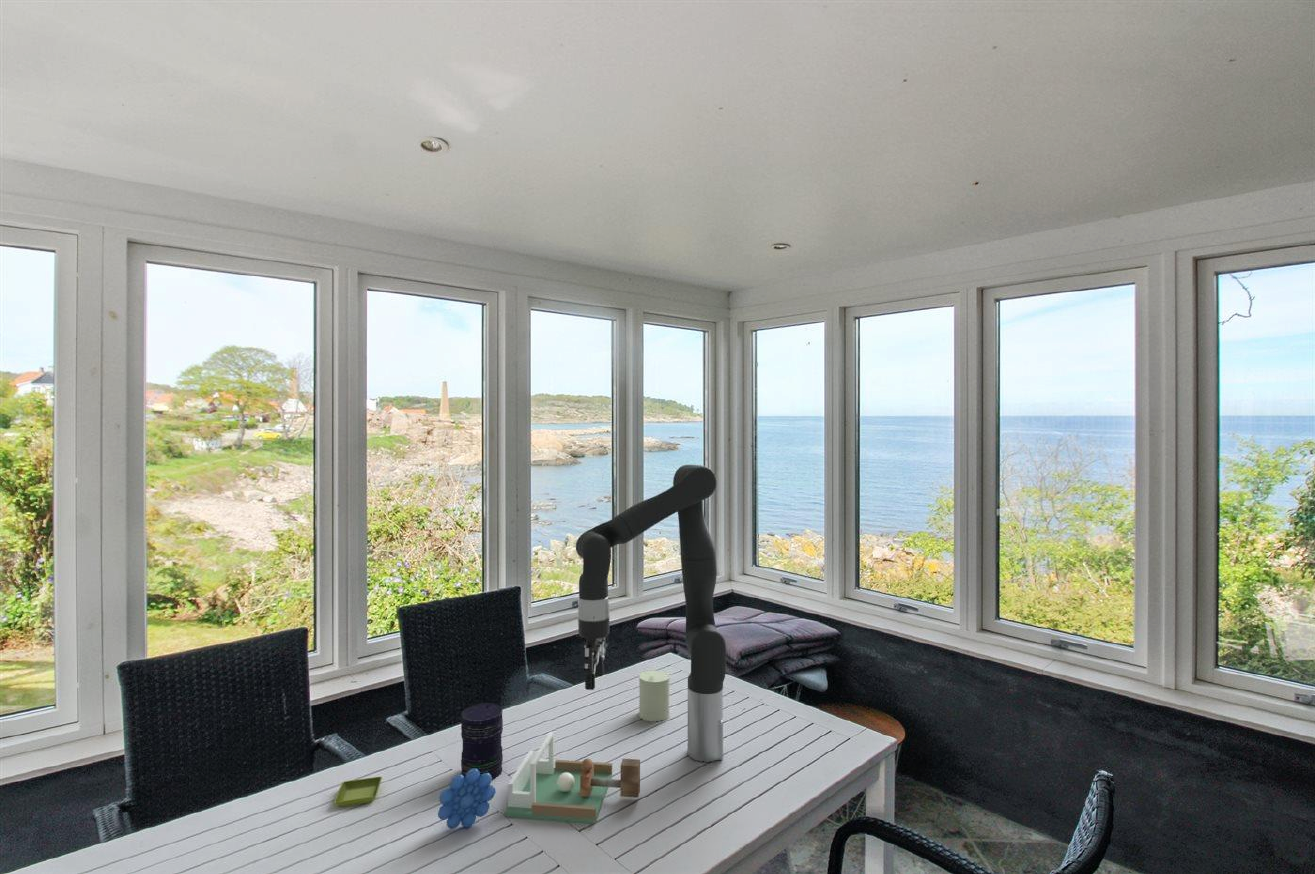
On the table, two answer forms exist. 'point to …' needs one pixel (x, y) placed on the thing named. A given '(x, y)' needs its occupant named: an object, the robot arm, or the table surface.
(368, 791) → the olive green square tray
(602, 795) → the pitch
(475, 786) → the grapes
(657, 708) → the can
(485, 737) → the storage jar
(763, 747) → the table surface
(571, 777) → the ball
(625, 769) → the kicker
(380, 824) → the table surface
